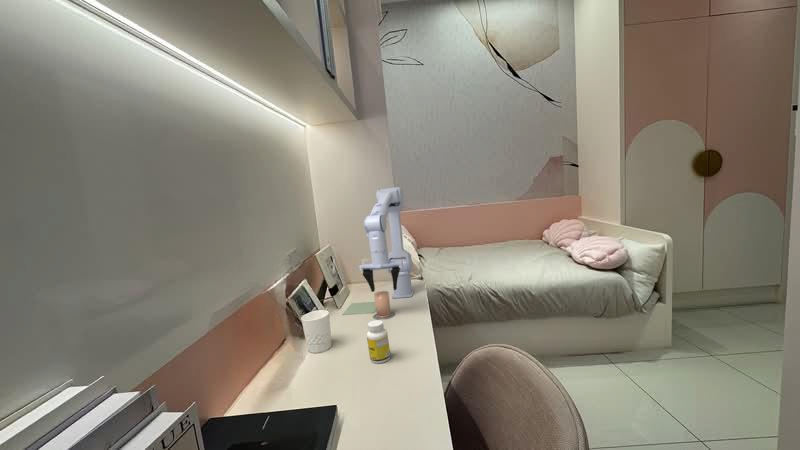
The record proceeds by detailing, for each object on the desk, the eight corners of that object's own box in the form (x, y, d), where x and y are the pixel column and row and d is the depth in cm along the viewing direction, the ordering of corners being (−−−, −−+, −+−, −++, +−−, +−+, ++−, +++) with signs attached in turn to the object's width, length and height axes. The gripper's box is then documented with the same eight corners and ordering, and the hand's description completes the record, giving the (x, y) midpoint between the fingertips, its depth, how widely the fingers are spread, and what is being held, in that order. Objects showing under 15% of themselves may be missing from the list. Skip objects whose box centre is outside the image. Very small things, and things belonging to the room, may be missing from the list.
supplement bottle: (367, 357, 93) (362, 322, 92) (386, 351, 94) (382, 317, 93) (373, 366, 88) (368, 328, 87) (393, 360, 89) (388, 323, 88)
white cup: (336, 340, 106) (332, 309, 105) (329, 353, 98) (323, 319, 97) (312, 342, 107) (307, 311, 106) (302, 355, 99) (296, 321, 98)
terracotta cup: (378, 313, 125) (375, 291, 125) (392, 312, 124) (389, 290, 124) (375, 318, 120) (372, 296, 119) (390, 317, 119) (387, 295, 118)
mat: (351, 303, 140) (351, 303, 140) (380, 301, 138) (380, 301, 138) (342, 315, 128) (342, 314, 128) (373, 313, 126) (373, 312, 126)
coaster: (375, 313, 127) (375, 311, 127) (397, 311, 126) (397, 310, 126) (370, 321, 119) (370, 320, 119) (393, 320, 118) (393, 319, 118)
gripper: (354, 255, 114) (360, 295, 115) (398, 251, 111) (403, 292, 113) (360, 250, 121) (365, 288, 122) (401, 246, 118) (406, 285, 120)
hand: (384, 290), depth 118 cm, fingers open, 7 cm apart
